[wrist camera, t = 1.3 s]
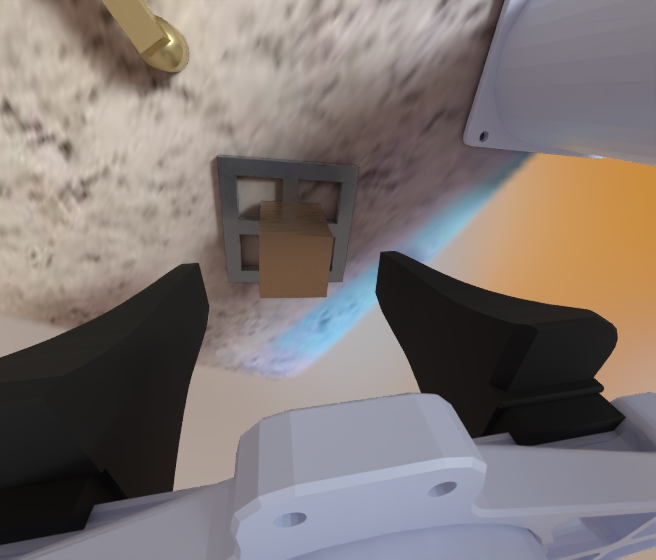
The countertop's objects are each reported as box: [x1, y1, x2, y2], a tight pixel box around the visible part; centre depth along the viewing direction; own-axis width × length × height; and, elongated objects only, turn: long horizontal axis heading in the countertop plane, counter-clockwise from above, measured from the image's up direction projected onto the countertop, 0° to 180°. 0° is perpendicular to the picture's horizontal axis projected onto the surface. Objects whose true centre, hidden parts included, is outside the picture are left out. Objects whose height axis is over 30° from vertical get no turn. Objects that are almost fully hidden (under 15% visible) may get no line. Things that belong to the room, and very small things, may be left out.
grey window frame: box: [217, 155, 360, 298], centre depth 15 cm, size 7×7×5 cm
